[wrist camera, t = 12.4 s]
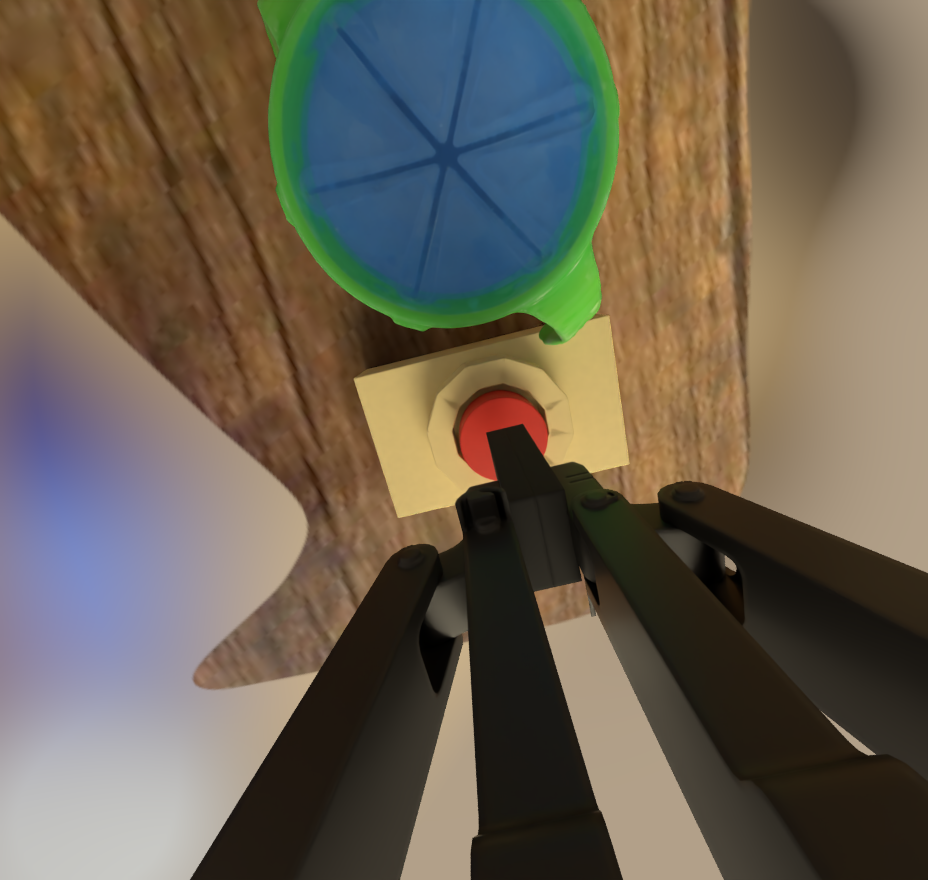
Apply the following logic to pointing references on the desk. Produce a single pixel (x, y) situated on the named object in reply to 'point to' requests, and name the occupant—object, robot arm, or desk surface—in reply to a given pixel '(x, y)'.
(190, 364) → the desk surface
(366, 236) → the snack cup
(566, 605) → the desk surface
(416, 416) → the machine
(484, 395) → the button
